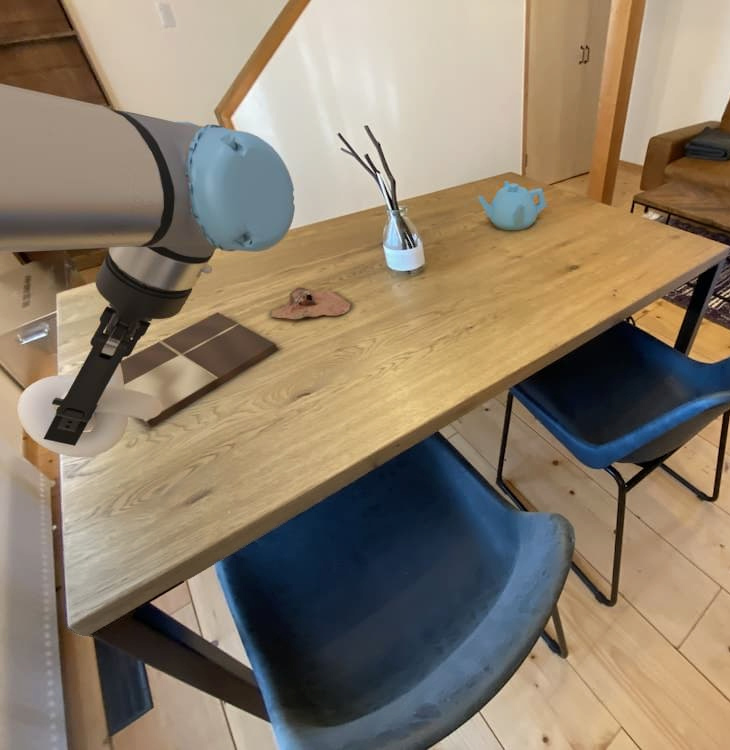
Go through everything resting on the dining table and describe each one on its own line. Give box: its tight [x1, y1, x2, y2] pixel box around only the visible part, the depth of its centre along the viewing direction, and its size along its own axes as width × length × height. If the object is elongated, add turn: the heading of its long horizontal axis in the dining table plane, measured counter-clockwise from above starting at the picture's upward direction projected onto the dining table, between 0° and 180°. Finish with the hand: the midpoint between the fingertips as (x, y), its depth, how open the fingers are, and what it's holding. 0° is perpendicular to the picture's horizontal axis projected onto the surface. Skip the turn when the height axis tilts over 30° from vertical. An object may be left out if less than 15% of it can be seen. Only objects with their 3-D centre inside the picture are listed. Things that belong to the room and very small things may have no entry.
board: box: [120, 312, 279, 428], centre depth 82 cm, size 24×20×2 cm
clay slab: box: [271, 287, 352, 320], centre depth 95 cm, size 15×13×3 cm
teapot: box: [477, 180, 547, 231], centre depth 125 cm, size 15×15×11 cm
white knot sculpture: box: [16, 363, 163, 458], centre depth 53 cm, size 11×12×9 cm
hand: (82, 403), depth 53 cm, fingers closed on white knot sculpture, 11 cm apart
